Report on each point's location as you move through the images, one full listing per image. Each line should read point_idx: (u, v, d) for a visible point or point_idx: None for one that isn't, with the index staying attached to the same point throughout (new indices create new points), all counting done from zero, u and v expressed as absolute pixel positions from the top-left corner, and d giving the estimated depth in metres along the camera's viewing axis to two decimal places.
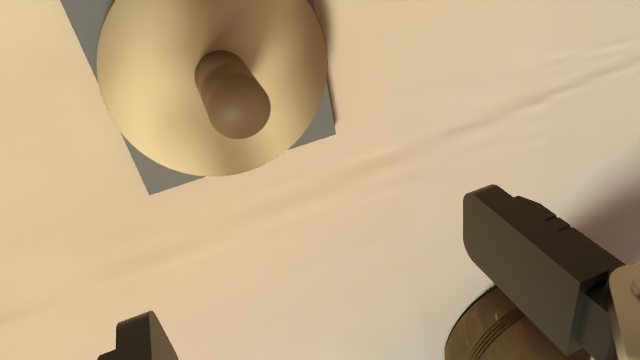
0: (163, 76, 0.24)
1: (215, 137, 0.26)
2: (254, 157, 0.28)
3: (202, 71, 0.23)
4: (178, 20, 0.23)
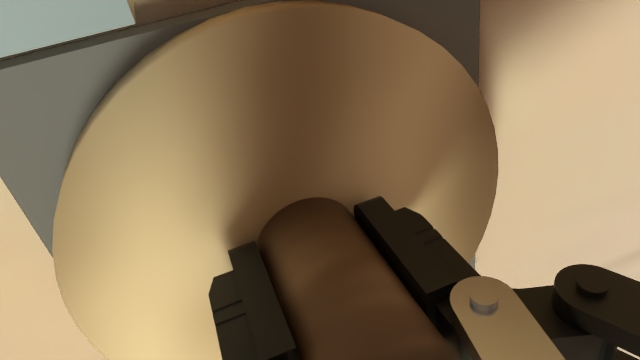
0: (195, 255, 0.12)
1: None
2: None
3: (283, 262, 0.11)
4: (231, 151, 0.11)
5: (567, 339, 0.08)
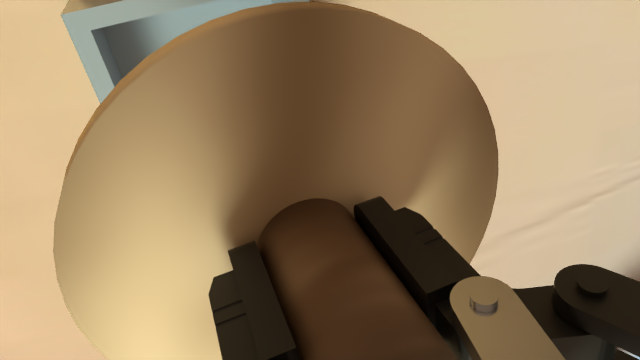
0: (196, 256, 0.12)
1: None
2: None
3: (283, 263, 0.11)
4: (232, 153, 0.11)
5: (567, 339, 0.08)
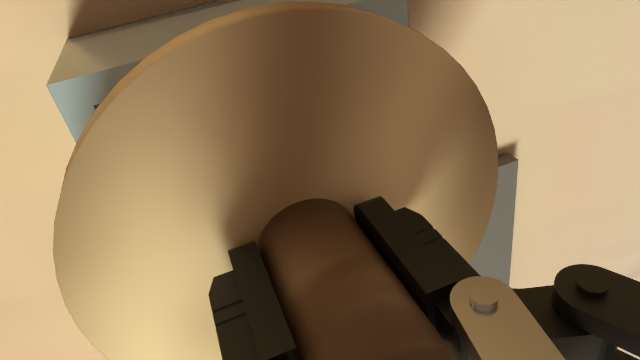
0: (196, 256, 0.12)
1: None
2: None
3: (283, 263, 0.11)
4: (232, 153, 0.11)
5: (567, 339, 0.08)
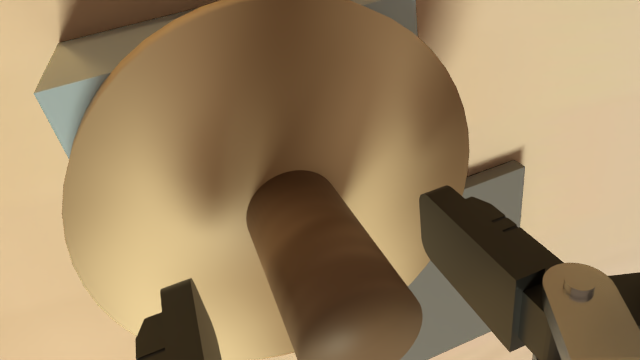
0: (190, 222, 0.13)
1: (275, 303, 0.15)
2: None
3: (268, 225, 0.12)
4: (222, 126, 0.12)
5: None
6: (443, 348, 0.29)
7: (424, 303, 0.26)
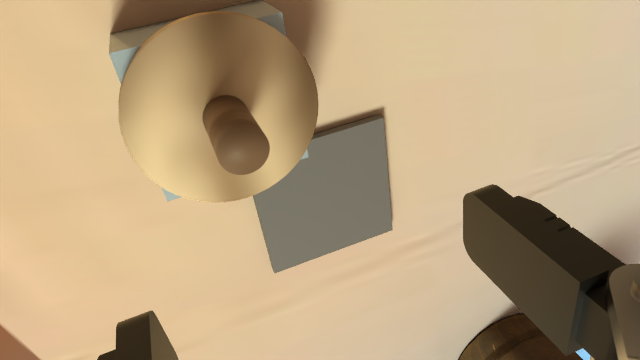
0: (175, 117, 0.28)
1: (218, 168, 0.30)
2: (253, 185, 0.32)
3: (210, 114, 0.27)
4: (190, 70, 0.27)
5: None
6: (344, 244, 0.44)
7: (326, 207, 0.41)
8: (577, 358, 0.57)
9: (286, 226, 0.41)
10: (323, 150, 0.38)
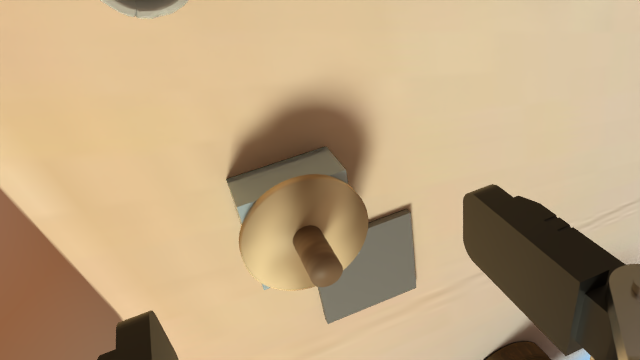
0: (276, 242, 0.41)
1: (300, 269, 0.44)
2: None
3: (301, 243, 0.40)
4: (287, 214, 0.40)
5: None
6: (379, 300, 0.58)
7: (367, 276, 0.55)
8: None
9: (337, 291, 0.54)
10: (366, 238, 0.52)
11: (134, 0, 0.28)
